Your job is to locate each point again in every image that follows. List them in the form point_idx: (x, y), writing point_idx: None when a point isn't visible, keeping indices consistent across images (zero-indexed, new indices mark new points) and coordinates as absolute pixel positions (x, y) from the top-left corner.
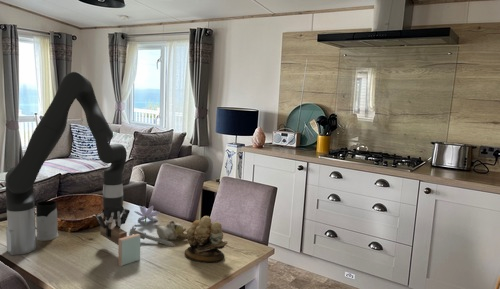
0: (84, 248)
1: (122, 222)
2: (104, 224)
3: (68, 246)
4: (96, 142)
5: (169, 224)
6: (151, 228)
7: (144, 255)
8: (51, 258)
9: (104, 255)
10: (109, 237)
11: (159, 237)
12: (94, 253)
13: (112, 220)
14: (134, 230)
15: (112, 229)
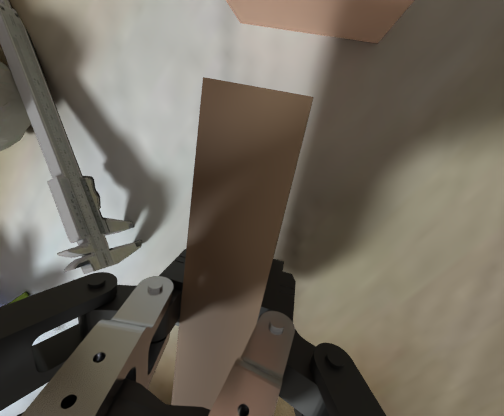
0: (327, 339)
1: (107, 292)
2: (350, 406)
3: None
4: None
5: None
6: (17, 255)
7: (191, 20)
8: (498, 384)
9: (330, 212)
10: (283, 262)
11: (18, 111)
12: (341, 269)
13: (220, 395)
14: (82, 246)
15: (263, 282)
